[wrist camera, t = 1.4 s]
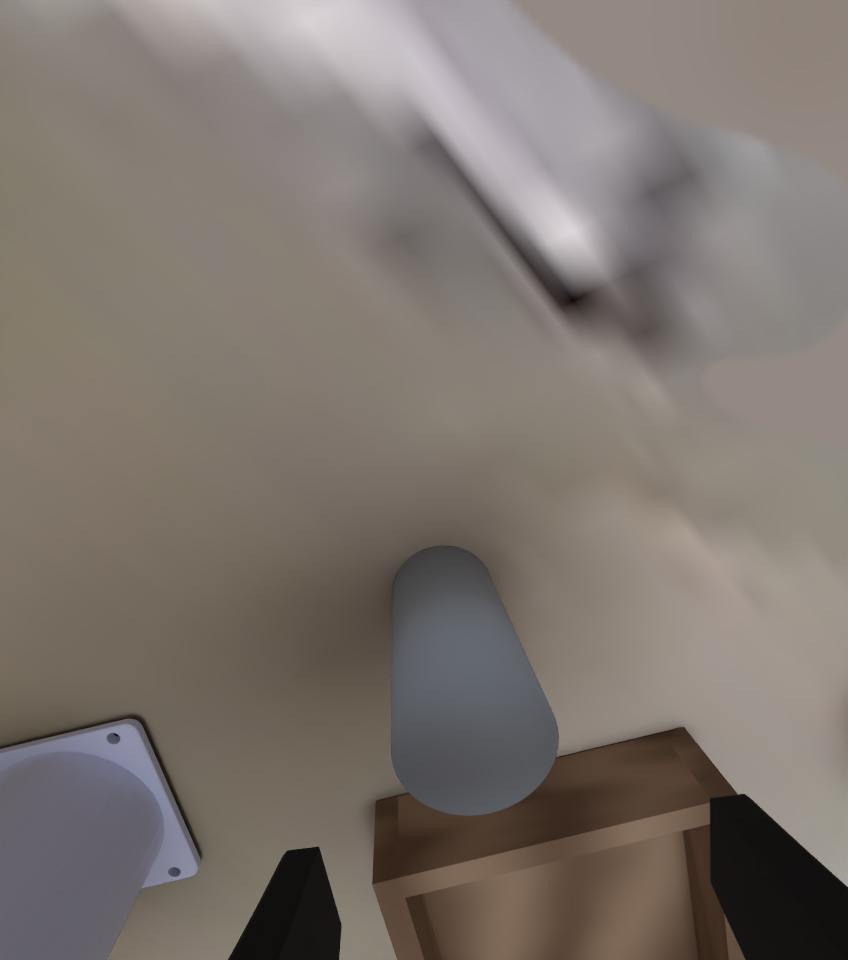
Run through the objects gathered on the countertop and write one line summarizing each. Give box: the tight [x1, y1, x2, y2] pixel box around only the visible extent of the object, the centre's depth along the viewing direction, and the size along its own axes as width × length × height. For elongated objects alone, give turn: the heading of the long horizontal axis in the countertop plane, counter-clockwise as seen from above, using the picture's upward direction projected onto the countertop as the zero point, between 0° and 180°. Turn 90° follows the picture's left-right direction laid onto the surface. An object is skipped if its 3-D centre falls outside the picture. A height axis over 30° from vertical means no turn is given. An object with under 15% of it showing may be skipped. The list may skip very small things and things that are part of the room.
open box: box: [372, 727, 746, 960], centre depth 21 cm, size 14×14×4 cm
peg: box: [391, 546, 559, 816], centre depth 15 cm, size 4×4×8 cm
